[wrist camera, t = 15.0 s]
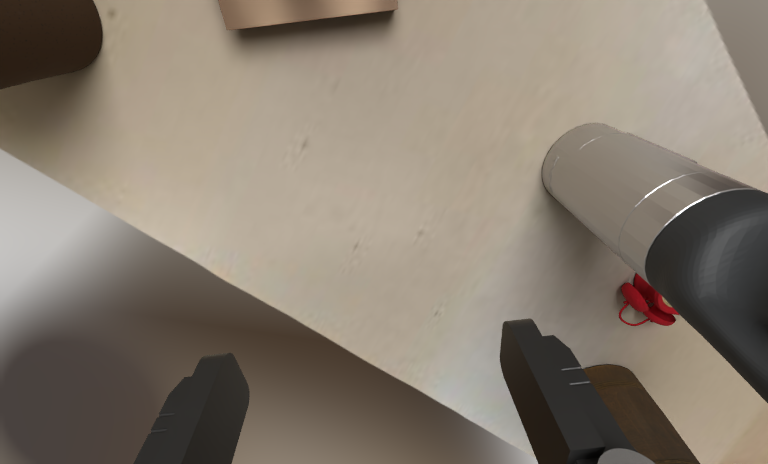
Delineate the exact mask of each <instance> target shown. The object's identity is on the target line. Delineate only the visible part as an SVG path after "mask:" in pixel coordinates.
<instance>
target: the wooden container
mask: <svg viewBox="0 0 768 464" xmlns="http://www.w3.org/2000/svg"><path fill="white" fill-rule="evenodd" d="M583 370H584V372H585V373H586V375H587V376H588V378H589V380H590V383H591V384H593V386H594V387H595V389H596V391H597V392H598V394H599V395H600V397H601V398H602V400H603V402H604V403H605V405H606V406H607V408H608V409H609V411H610V413H611V414H612V416H613V417H614V419H615V420H616V422H617V424H618V425H619V427H620V428H621V430H622V431H623V433H624V435H625V436H626V438H627V439H628V441H629V442H630V443H631V445H632V446H633V447H634V448H635V449H636V451H637V452H639V453H640V454H641V455H643V456H645V457H647V458H648V459H650V460H651V461H653V462H654V463H655V464H700V463H699V461H698V460H697V459H696V457H695V456H694V455H693V453H692V452H691V450H690V449H689V448H688V446H687V445H686V444H685V442H684V441H683V440H682V438H681V437H680V435H679V434H678V433H677V431H676V430H675V428H674V427H673V425H672V424H671V423H670V421H669V420H668V419H667V417H666V416H665V415H664V413H663V412H662V411H661V409H660V408H659V407H658V405H657V404H656V403H655V402H654V400H653V399H652V398H651V396H650V395H649V394H648V392H647V391H646V390H645V388H644V387H643V386H642V384H641V383H640V382H639V380H638V379H637V378H636V376H635V375H634V374H633V373H632V372H631V371H630V370H628V369H627V368H625V367H621V366H617V365H599V366H594V367H590V368H586V369H583Z"/></svg>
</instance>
